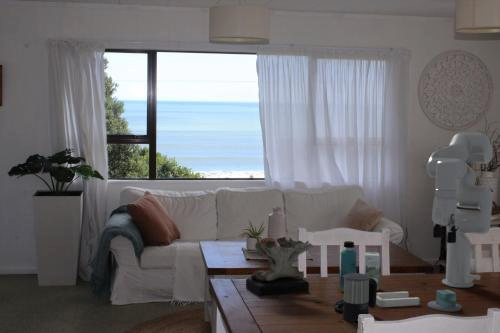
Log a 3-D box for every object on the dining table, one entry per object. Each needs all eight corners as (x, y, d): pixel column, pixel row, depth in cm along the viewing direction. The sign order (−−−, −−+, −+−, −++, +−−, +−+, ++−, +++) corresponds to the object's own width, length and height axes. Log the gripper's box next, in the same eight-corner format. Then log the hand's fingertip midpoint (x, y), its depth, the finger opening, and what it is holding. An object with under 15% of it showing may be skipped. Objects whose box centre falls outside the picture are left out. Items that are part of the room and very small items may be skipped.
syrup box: (377, 287, 266) (378, 252, 265) (379, 290, 260) (380, 255, 259) (363, 286, 267) (364, 251, 266) (364, 290, 261) (365, 254, 260)
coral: (301, 282, 272) (302, 231, 270) (323, 295, 253) (325, 240, 251) (245, 287, 263) (246, 234, 261) (264, 300, 244) (265, 244, 242)
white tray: (406, 297, 251) (406, 291, 251) (419, 305, 241) (419, 298, 241) (369, 299, 247) (369, 293, 247) (380, 307, 237) (380, 300, 237)
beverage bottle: (336, 292, 257) (338, 242, 256) (342, 288, 263) (343, 239, 262) (352, 294, 254) (354, 243, 253) (358, 290, 260) (359, 241, 259)
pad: (450, 301, 246) (450, 300, 246) (468, 310, 235) (468, 309, 235) (421, 303, 243) (421, 301, 243) (438, 312, 232) (438, 310, 232)
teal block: (447, 302, 242) (448, 289, 242) (455, 306, 237) (456, 293, 237) (435, 303, 241) (436, 290, 241) (443, 307, 236) (443, 294, 236)
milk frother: (361, 324, 217) (362, 280, 216) (320, 315, 227) (321, 273, 226) (379, 314, 229) (381, 272, 228) (340, 306, 238) (341, 266, 237)
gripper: (424, 191, 246) (423, 235, 248) (449, 197, 230) (447, 245, 231) (442, 190, 248) (440, 235, 250) (468, 197, 231) (466, 244, 233)
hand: (444, 240), depth 240 cm, fingers open, 9 cm apart
